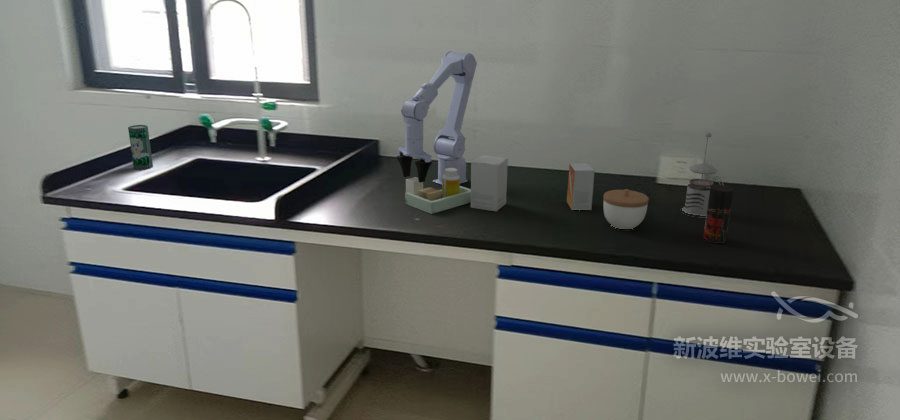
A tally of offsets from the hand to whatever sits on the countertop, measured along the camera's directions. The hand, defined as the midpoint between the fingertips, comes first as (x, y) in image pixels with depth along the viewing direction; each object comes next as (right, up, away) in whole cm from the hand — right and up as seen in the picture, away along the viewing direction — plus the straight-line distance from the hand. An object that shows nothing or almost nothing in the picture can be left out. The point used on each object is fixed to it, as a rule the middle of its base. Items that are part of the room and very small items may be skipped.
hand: (414, 179), depth 225 cm
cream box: (0, -5, +2) cm, 5 cm away
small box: (+52, -9, -8) cm, 53 cm away
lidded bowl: (+62, -15, -23) cm, 68 cm away
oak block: (+5, -9, -9) cm, 14 cm away
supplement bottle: (+12, -7, -4) cm, 14 cm away
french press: (+89, -11, -12) cm, 90 cm away
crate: (+9, -8, -6) cm, 13 cm away
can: (-99, +5, +26) cm, 103 cm away
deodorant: (+85, -18, -33) cm, 93 cm away
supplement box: (+24, -9, -8) cm, 27 cm away
